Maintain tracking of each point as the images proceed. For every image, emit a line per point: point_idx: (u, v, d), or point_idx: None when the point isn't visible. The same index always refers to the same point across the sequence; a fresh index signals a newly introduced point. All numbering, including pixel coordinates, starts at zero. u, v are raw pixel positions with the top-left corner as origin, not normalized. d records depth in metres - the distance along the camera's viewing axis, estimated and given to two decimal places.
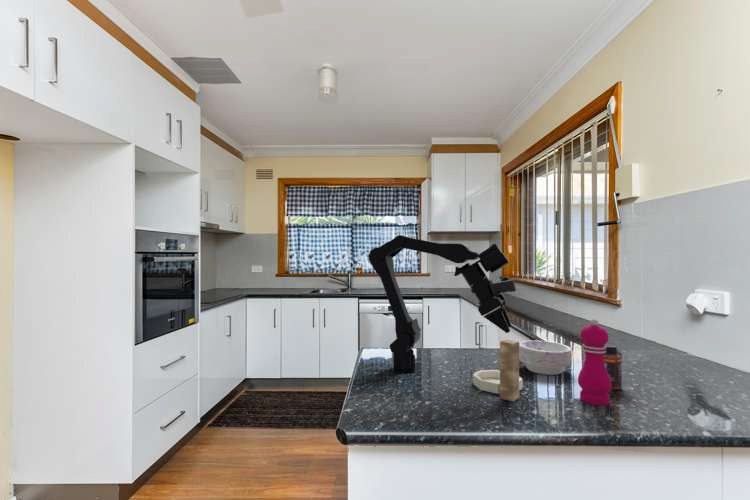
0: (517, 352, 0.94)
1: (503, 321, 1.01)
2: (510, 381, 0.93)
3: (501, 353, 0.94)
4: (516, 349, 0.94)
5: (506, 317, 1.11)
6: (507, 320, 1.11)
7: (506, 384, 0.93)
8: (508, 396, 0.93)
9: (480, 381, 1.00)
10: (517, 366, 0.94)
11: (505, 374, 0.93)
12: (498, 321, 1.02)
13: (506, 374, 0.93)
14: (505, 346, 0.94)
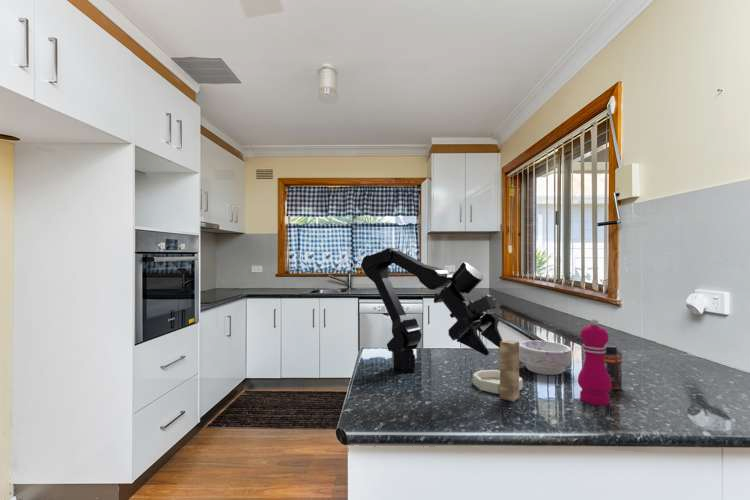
0: (517, 352, 0.94)
1: (478, 343, 0.94)
2: (510, 381, 0.93)
3: (501, 353, 0.94)
4: (516, 349, 0.94)
5: (498, 338, 1.01)
6: None
7: (506, 384, 0.93)
8: (508, 396, 0.93)
9: (480, 381, 1.00)
10: (517, 366, 0.94)
11: (505, 374, 0.93)
12: (474, 344, 0.95)
13: (506, 374, 0.93)
14: (505, 346, 0.94)
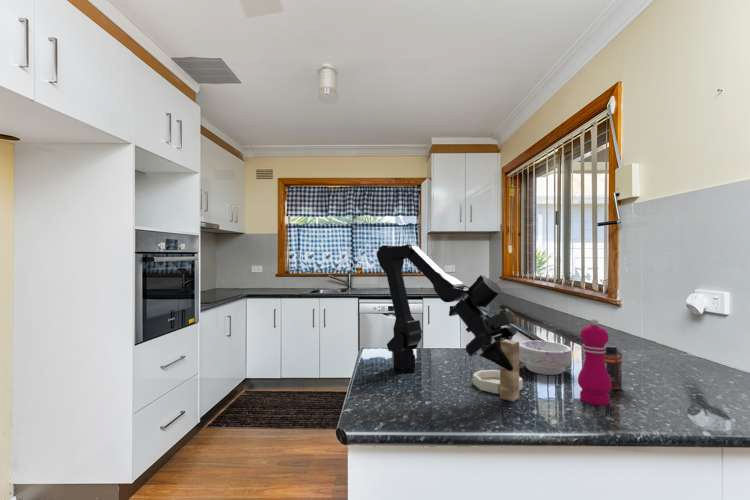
0: (517, 352, 0.94)
1: (502, 358, 0.93)
2: (510, 381, 0.93)
3: None
4: (516, 349, 0.94)
5: None
6: None
7: (506, 384, 0.93)
8: (508, 396, 0.93)
9: (480, 381, 1.00)
10: (517, 366, 0.94)
11: (505, 374, 0.93)
12: (497, 358, 0.94)
13: (506, 374, 0.93)
14: (505, 346, 0.94)
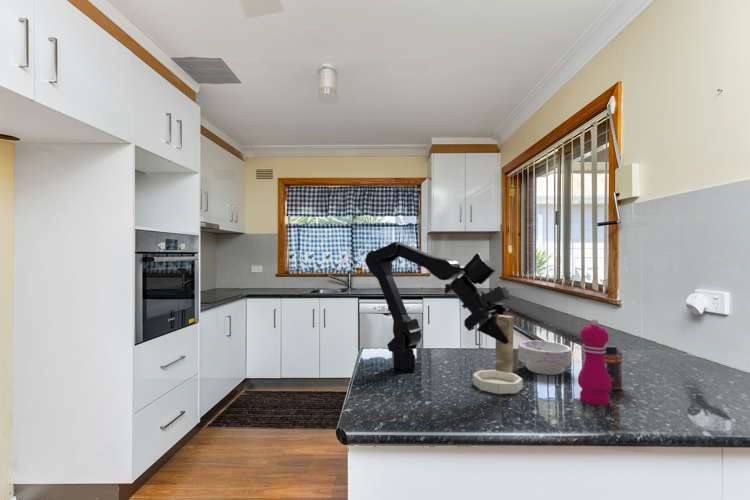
0: (512, 326, 0.98)
1: (498, 332, 0.97)
2: (505, 354, 0.97)
3: None
4: (511, 323, 0.98)
5: None
6: None
7: (501, 356, 0.97)
8: (503, 368, 0.97)
9: (480, 381, 1.00)
10: (511, 339, 0.98)
11: (501, 347, 0.97)
12: (493, 332, 0.97)
13: (501, 347, 0.97)
14: (501, 320, 0.98)
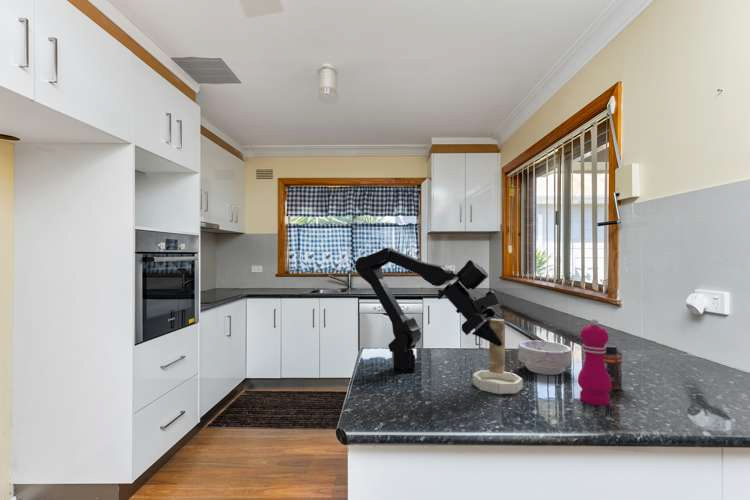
0: (504, 329, 1.04)
1: (492, 335, 1.01)
2: (499, 356, 1.02)
3: None
4: (503, 326, 1.03)
5: None
6: None
7: (495, 358, 1.02)
8: (497, 369, 1.02)
9: (480, 381, 1.00)
10: (504, 341, 1.04)
11: (495, 349, 1.02)
12: (488, 335, 1.02)
13: (495, 349, 1.02)
14: (495, 324, 1.02)
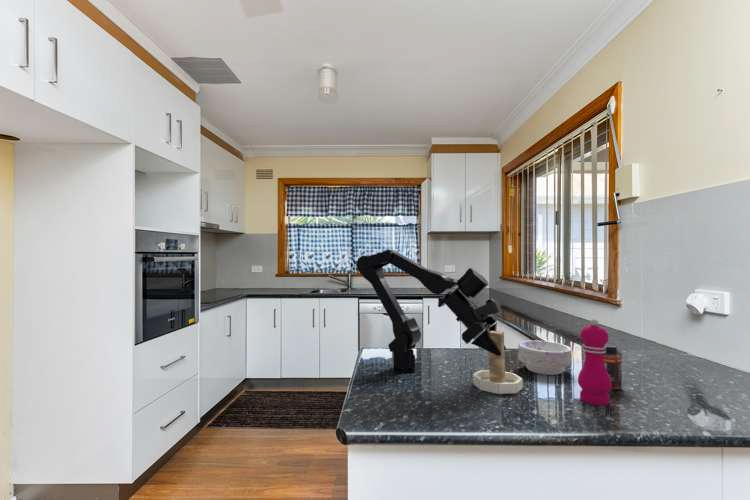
0: (503, 341, 1.04)
1: (492, 344, 1.00)
2: (499, 368, 1.02)
3: None
4: (502, 339, 1.03)
5: None
6: None
7: (495, 371, 1.02)
8: (497, 382, 1.02)
9: (480, 381, 1.00)
10: (503, 354, 1.03)
11: (494, 362, 1.02)
12: (487, 345, 1.01)
13: (495, 362, 1.02)
14: (494, 337, 1.02)
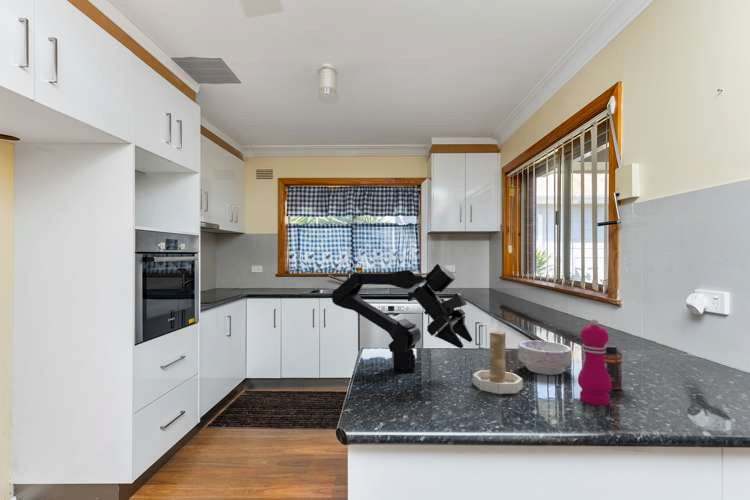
0: (504, 342, 1.03)
1: (454, 337, 1.04)
2: (499, 369, 1.02)
3: (490, 343, 1.03)
4: (504, 339, 1.03)
5: (466, 332, 1.13)
6: (467, 335, 1.12)
7: (496, 371, 1.02)
8: (498, 382, 1.02)
9: (480, 381, 1.00)
10: (504, 354, 1.03)
11: (495, 362, 1.02)
12: (450, 338, 1.04)
13: (495, 362, 1.02)
14: (495, 337, 1.02)
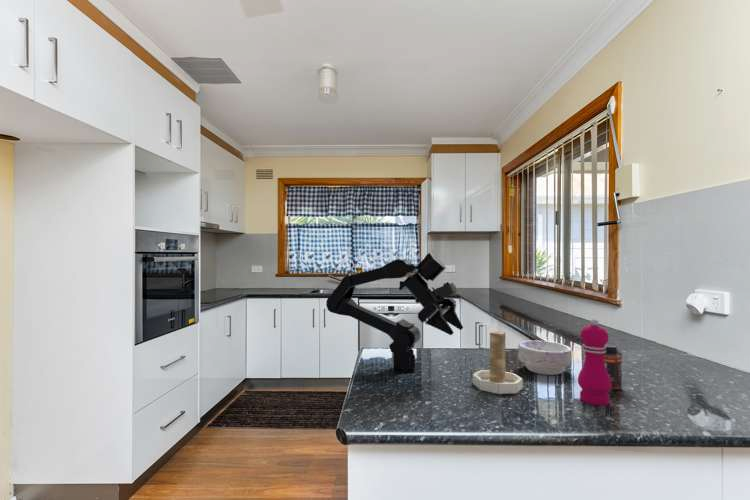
0: (504, 342, 1.03)
1: (444, 324, 1.06)
2: (499, 369, 1.02)
3: (490, 343, 1.03)
4: (504, 339, 1.03)
5: (457, 320, 1.15)
6: (458, 323, 1.14)
7: (496, 371, 1.02)
8: (498, 382, 1.02)
9: (480, 381, 1.00)
10: (504, 354, 1.03)
11: (495, 362, 1.02)
12: (440, 325, 1.06)
13: (495, 362, 1.02)
14: (495, 337, 1.02)
